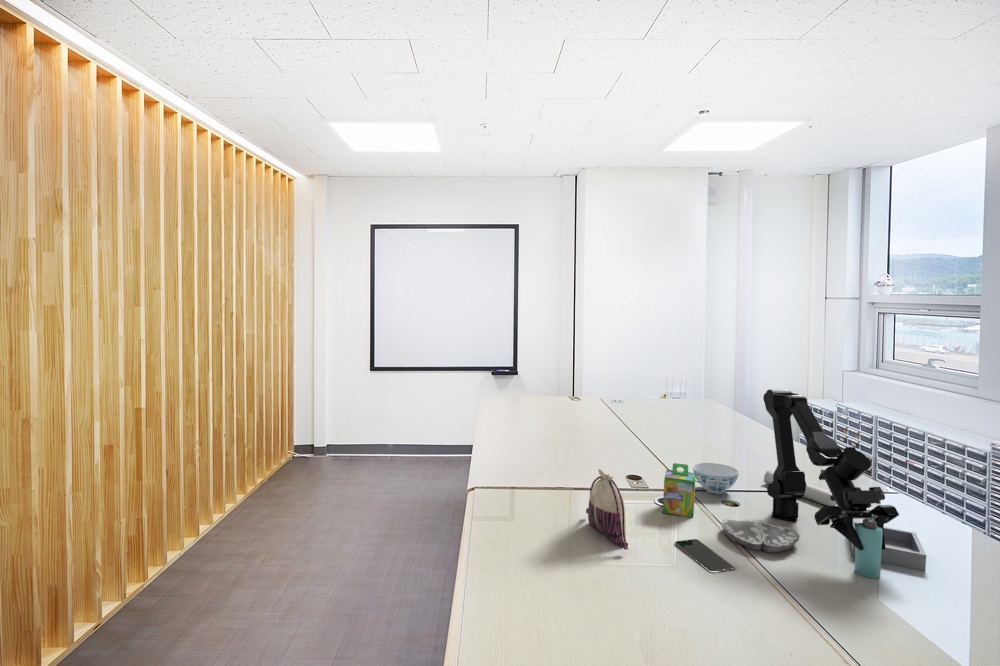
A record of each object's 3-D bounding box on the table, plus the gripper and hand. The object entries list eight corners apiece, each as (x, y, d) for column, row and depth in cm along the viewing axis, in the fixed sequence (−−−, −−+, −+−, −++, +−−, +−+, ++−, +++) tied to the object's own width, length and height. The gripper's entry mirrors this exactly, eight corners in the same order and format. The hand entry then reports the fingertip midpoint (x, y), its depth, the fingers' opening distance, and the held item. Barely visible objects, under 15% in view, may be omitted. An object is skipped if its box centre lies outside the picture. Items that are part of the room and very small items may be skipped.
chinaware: (698, 480, 195) (699, 460, 195) (742, 489, 187) (742, 467, 186) (686, 492, 183) (687, 470, 183) (732, 501, 174) (733, 479, 174)
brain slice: (723, 550, 141) (723, 539, 140) (720, 525, 157) (720, 515, 156) (806, 563, 134) (807, 552, 134) (794, 535, 150) (794, 525, 150)
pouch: (571, 520, 159) (572, 458, 158) (594, 516, 162) (596, 455, 161) (619, 557, 136) (621, 485, 135) (645, 551, 139) (647, 481, 138)
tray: (852, 555, 137) (853, 540, 137) (848, 534, 150) (849, 520, 150) (925, 571, 130) (926, 555, 130) (914, 546, 143) (915, 532, 142)
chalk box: (662, 513, 164) (663, 467, 164) (665, 503, 173) (666, 459, 172) (694, 518, 161) (695, 470, 160) (694, 507, 169) (696, 462, 169)
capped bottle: (855, 574, 128) (857, 522, 127) (853, 565, 132) (856, 515, 131) (881, 580, 125) (884, 527, 124) (879, 571, 130) (881, 519, 129)
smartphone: (710, 571, 128) (673, 541, 144) (710, 575, 128) (673, 544, 144) (736, 568, 130) (697, 538, 145) (736, 572, 130) (697, 542, 145)
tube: (842, 495, 171) (775, 471, 194) (832, 492, 169) (766, 468, 192) (838, 511, 171) (771, 485, 193) (828, 508, 168) (762, 482, 191)
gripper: (823, 474, 131) (854, 537, 120) (895, 473, 132) (931, 536, 121) (802, 494, 139) (829, 554, 129) (869, 493, 140) (901, 553, 130)
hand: (872, 549), depth 127 cm, fingers closed on capped bottle, 5 cm apart
